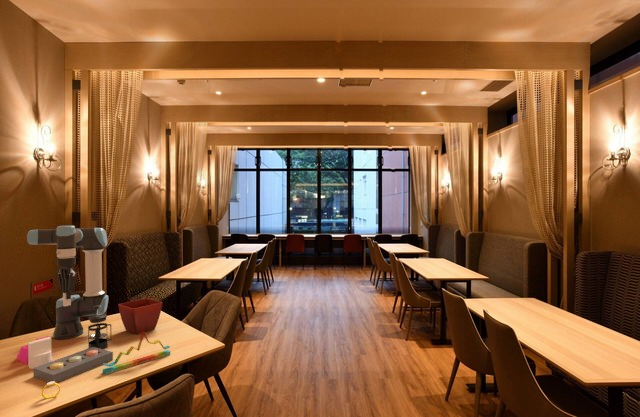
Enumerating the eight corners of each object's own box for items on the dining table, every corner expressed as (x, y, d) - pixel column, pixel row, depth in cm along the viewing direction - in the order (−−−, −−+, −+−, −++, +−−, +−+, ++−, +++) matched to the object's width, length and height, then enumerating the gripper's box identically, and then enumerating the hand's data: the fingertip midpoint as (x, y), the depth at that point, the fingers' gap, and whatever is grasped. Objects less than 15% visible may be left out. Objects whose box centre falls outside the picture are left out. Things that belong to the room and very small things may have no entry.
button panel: (33, 376, 162) (33, 368, 162) (93, 354, 186) (93, 346, 186) (53, 384, 155) (53, 374, 155) (112, 359, 180) (112, 351, 179)
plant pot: (147, 322, 237) (147, 297, 237) (163, 328, 226) (163, 301, 226) (117, 331, 222) (117, 304, 222) (133, 337, 211) (132, 309, 211)
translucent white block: (33, 370, 169) (32, 345, 169) (25, 366, 174) (24, 341, 174) (55, 363, 177) (54, 339, 176) (47, 359, 181) (46, 335, 181)
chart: (104, 375, 163) (104, 343, 163) (102, 373, 166) (102, 341, 166) (170, 355, 185) (170, 326, 185) (168, 353, 187) (167, 325, 187)
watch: (41, 401, 142) (40, 386, 142) (43, 398, 144) (41, 383, 144) (60, 396, 145) (58, 381, 145) (61, 393, 147) (59, 379, 147)
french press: (85, 352, 189) (84, 309, 189) (87, 346, 198) (86, 305, 198) (111, 348, 195) (110, 306, 195) (111, 342, 203) (111, 302, 203)
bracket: (50, 356, 184) (50, 337, 184) (25, 364, 176) (25, 343, 176) (40, 351, 191) (40, 332, 191) (16, 358, 182) (16, 338, 182)
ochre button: (47, 372, 162) (47, 365, 162) (59, 367, 167) (59, 361, 167) (53, 374, 160) (53, 367, 160) (65, 369, 165) (65, 363, 165)
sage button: (66, 365, 170) (66, 359, 170) (77, 361, 174) (77, 355, 174) (72, 367, 168) (72, 360, 167) (83, 363, 172) (83, 356, 172)
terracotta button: (83, 358, 177) (83, 352, 177) (93, 355, 181) (93, 349, 181) (90, 360, 175) (89, 354, 175) (100, 356, 179) (100, 350, 179)
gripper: (50, 257, 173) (50, 306, 173) (65, 259, 167) (66, 309, 167) (66, 255, 179) (67, 302, 180) (82, 256, 174) (83, 305, 174)
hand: (67, 305), depth 173 cm, fingers closed
